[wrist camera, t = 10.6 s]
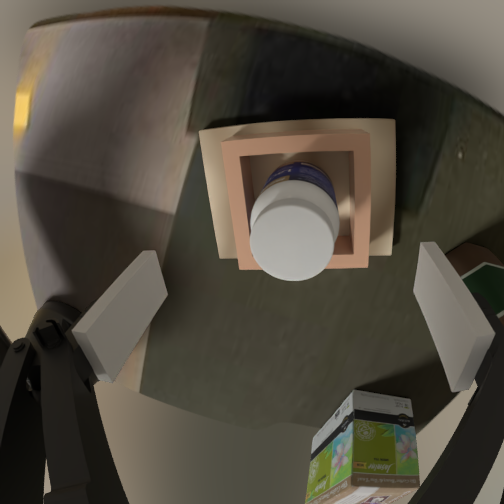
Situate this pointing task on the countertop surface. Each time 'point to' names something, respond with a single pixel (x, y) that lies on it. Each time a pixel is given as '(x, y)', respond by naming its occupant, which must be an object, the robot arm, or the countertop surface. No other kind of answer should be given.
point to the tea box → (365, 452)
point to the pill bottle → (295, 222)
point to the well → (352, 140)
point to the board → (327, 160)
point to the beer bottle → (480, 273)
